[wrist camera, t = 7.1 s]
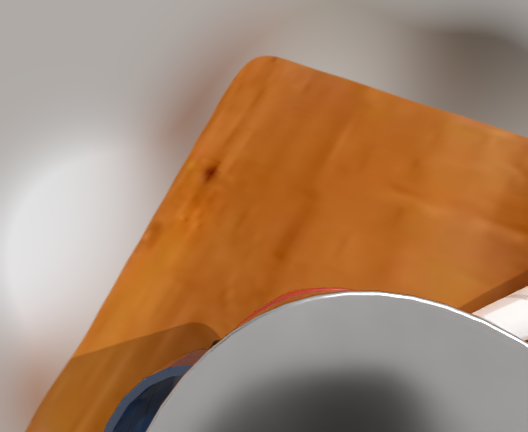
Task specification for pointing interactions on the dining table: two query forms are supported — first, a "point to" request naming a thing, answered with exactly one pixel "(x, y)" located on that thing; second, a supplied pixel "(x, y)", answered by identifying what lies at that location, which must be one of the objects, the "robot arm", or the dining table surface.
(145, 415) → the pot
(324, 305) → the tin
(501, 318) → the unicorn horn
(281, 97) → the dining table surface
